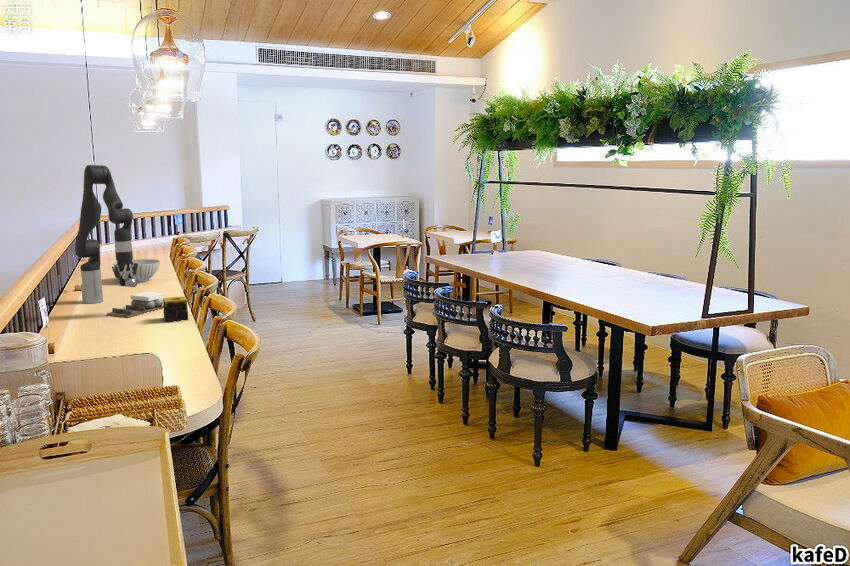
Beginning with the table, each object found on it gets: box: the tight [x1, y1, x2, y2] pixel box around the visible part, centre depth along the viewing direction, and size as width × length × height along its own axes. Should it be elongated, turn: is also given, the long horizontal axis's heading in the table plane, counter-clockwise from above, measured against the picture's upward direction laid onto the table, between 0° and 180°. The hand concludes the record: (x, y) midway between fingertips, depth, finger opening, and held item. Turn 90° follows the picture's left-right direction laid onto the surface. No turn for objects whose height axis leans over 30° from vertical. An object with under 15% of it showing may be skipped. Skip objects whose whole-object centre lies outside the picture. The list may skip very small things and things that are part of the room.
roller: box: [115, 278, 139, 288], centre depth 316 cm, size 10×4×4 cm, turn 67°
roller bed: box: [106, 298, 164, 319], centre depth 323 cm, size 14×24×5 cm, turn 156°
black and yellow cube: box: [162, 296, 189, 323], centre depth 306 cm, size 10×10×10 cm
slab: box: [130, 291, 165, 301], centre depth 328 cm, size 12×10×2 cm
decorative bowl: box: [112, 258, 161, 284], centre depth 407 cm, size 27×27×12 cm
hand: (126, 285), depth 316 cm, fingers closed on roller, 4 cm apart
